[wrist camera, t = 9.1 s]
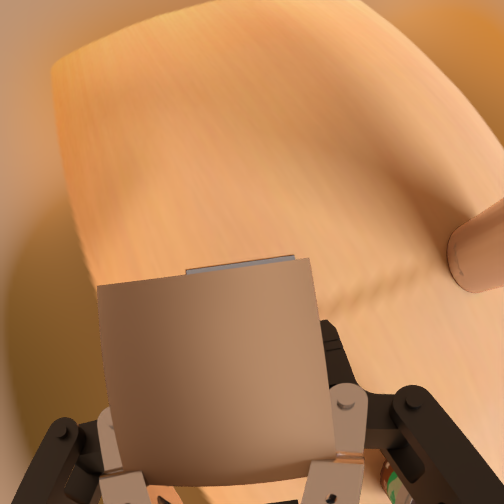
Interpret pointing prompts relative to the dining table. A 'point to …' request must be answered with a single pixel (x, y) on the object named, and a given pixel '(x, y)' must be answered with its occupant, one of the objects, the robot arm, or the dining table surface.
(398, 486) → the food container
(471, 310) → the dining table surface
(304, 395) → the walnut block
